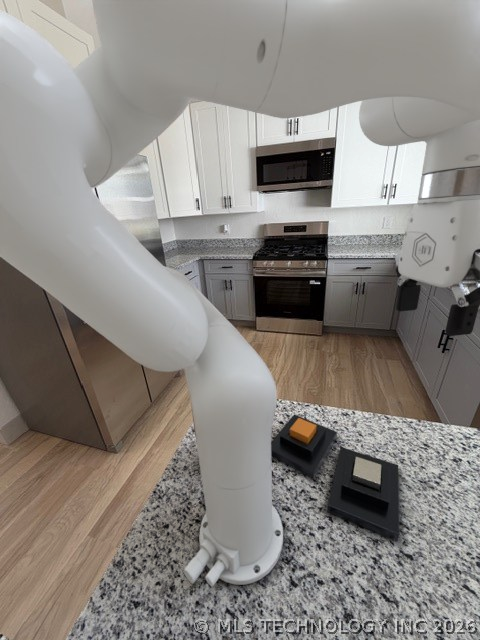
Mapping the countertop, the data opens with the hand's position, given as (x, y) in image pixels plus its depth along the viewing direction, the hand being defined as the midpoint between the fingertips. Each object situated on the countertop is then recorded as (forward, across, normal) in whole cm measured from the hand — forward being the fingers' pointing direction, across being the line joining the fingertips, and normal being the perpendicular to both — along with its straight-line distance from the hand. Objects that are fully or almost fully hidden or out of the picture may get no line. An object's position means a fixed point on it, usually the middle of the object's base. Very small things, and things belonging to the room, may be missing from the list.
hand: (429, 320), depth 39 cm
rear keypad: (+30, -9, -15) cm, 35 cm away
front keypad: (+30, +2, -8) cm, 31 cm away
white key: (+27, +2, -8) cm, 28 cm away
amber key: (+27, -9, -15) cm, 32 cm away
